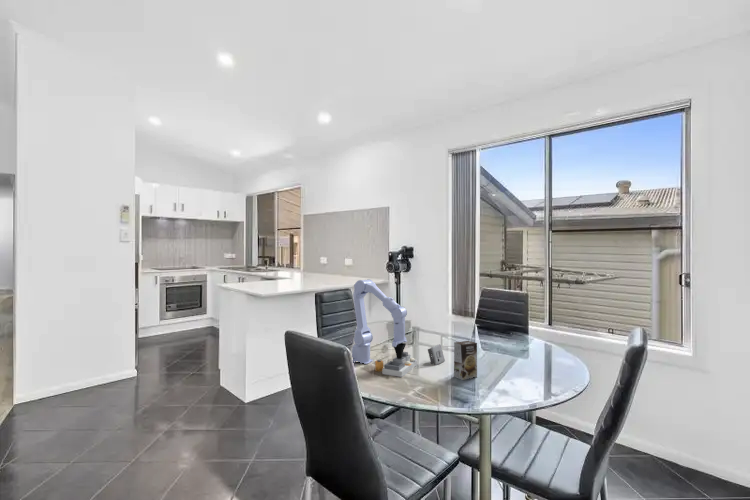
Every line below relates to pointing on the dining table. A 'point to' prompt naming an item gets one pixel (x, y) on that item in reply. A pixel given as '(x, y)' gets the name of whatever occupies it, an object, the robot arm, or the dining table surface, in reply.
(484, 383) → the dining table surface
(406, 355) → the block
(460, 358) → the coffee box
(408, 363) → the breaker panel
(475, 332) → the dining table surface
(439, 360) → the electrical switch
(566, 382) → the dining table surface
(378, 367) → the cap
